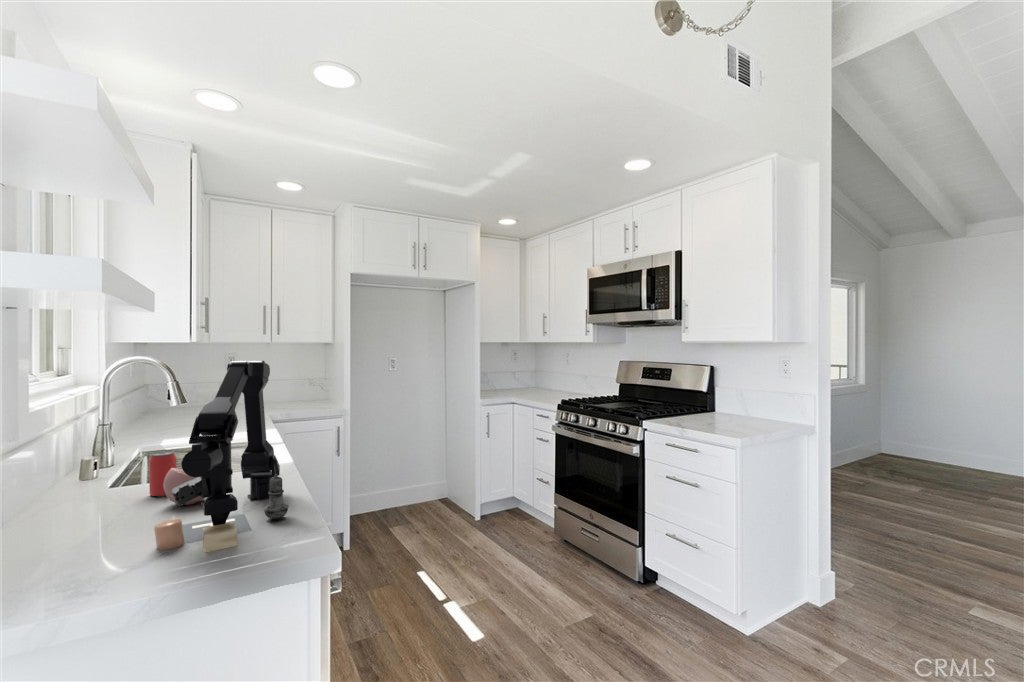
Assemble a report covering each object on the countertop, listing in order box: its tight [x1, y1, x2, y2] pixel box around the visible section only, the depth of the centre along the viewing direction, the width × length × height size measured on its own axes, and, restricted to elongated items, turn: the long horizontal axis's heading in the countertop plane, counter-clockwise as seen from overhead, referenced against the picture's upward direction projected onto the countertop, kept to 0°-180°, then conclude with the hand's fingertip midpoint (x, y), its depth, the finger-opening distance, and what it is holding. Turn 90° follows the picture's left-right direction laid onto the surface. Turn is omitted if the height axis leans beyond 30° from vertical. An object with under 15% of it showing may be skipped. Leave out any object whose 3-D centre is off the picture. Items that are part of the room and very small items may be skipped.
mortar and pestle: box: [163, 467, 206, 506], centre depth 141 cm, size 12×12×12 cm
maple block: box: [202, 522, 238, 553], centre depth 112 cm, size 6×6×4 cm
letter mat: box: [182, 513, 253, 545], centre depth 122 cm, size 14×14×1 cm
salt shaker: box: [263, 474, 290, 524], centre depth 127 cm, size 6×6×12 cm
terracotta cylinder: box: [153, 518, 185, 551], centre depth 111 cm, size 5×5×5 cm
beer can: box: [148, 450, 178, 497], centre depth 150 cm, size 7×7×12 cm
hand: (217, 533), depth 116 cm, fingers closed
